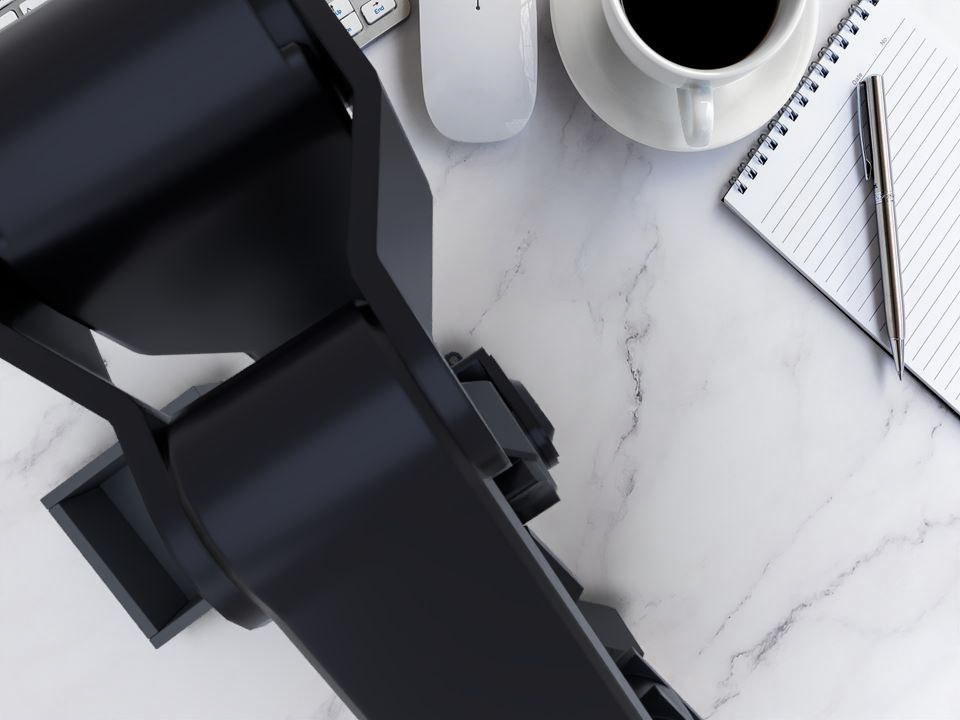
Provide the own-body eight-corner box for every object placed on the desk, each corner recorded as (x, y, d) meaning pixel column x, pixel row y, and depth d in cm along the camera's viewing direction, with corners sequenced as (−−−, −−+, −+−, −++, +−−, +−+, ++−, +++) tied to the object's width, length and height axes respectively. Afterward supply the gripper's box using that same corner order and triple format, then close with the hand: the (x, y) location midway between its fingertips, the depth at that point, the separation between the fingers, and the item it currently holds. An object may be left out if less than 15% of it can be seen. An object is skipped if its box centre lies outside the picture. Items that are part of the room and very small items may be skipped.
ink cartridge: (527, 627, 52) (542, 678, 44) (535, 590, 52) (552, 635, 44) (606, 643, 52) (636, 698, 44) (614, 607, 52) (645, 655, 44)
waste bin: (222, 380, 51) (193, 385, 45) (324, 513, 51) (308, 536, 45) (86, 481, 51) (38, 500, 45) (189, 614, 51) (156, 650, 45)
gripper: (310, 786, 30) (356, 634, 46) (675, 1147, 31) (597, 876, 46) (538, 563, 30) (506, 488, 46) (895, 928, 31) (743, 732, 47)
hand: (585, 651), depth 46 cm, fingers open, 9 cm apart
